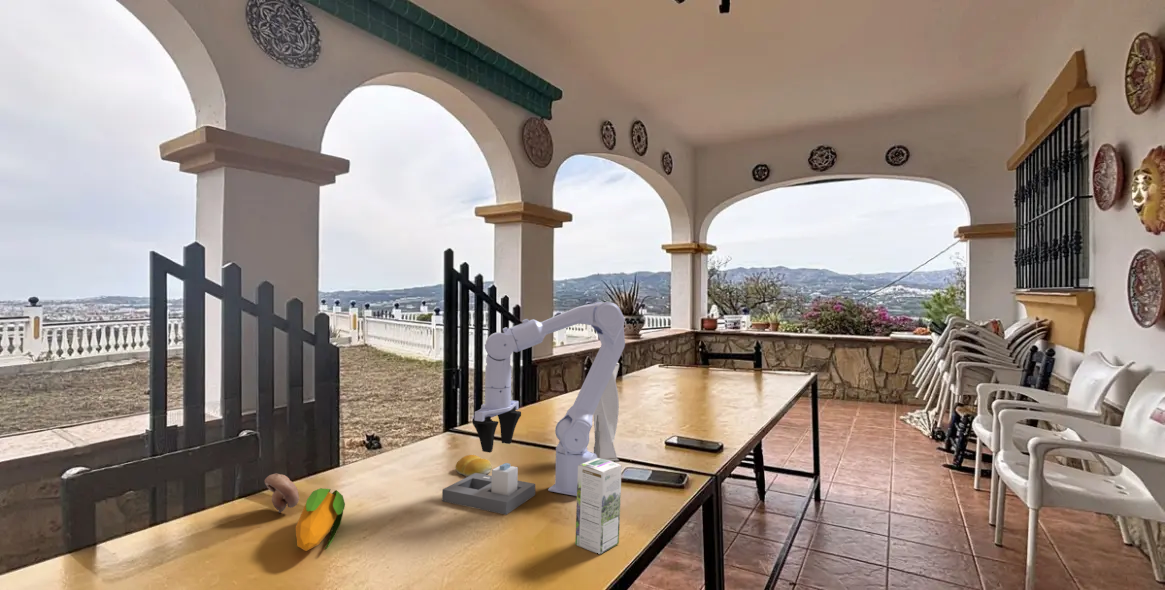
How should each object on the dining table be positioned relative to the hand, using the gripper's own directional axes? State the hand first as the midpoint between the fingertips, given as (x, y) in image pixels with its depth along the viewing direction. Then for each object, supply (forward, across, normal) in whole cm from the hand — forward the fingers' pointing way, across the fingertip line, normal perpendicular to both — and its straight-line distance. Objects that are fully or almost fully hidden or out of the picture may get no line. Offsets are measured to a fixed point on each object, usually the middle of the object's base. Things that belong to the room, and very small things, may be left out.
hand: (497, 447), depth 117 cm
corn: (+10, +33, -15) cm, 38 cm away
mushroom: (+10, +28, -32) cm, 44 cm away
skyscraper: (+11, -36, +11) cm, 39 cm away
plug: (+10, +3, +4) cm, 11 cm away
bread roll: (+11, -10, -14) cm, 20 cm away
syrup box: (+11, +12, +30) cm, 34 cm away
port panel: (+10, +3, 0) cm, 11 cm away
